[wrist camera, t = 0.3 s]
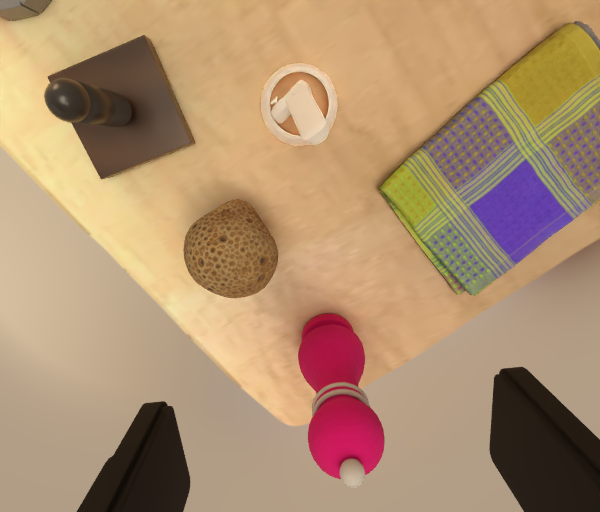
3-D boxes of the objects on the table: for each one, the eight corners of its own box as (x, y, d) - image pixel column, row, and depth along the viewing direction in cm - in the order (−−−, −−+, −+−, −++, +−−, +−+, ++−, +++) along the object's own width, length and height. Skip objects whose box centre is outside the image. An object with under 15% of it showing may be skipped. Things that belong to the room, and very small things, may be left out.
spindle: (56, 79, 35) (-50, 50, 24) (150, 39, 35) (83, -10, 24) (108, 178, 38) (33, 191, 27) (195, 143, 37) (154, 143, 26)
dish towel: (368, 180, 39) (374, 183, 36) (575, 12, 35) (599, 1, 32) (457, 297, 43) (468, 307, 40) (651, 159, 39) (678, 160, 36)
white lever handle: (323, 207, 34) (270, 172, 29) (288, 137, 42) (241, 99, 37) (386, 151, 31) (339, 101, 26) (337, 85, 39) (293, 37, 34)
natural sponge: (219, 289, 42) (197, 331, 33) (182, 218, 40) (146, 242, 30) (291, 259, 41) (291, 294, 32) (258, 185, 39) (247, 199, 29)
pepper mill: (301, 365, 45) (307, 527, 26) (294, 312, 43) (295, 447, 24) (359, 359, 45) (408, 517, 26) (355, 305, 43) (405, 435, 24)
